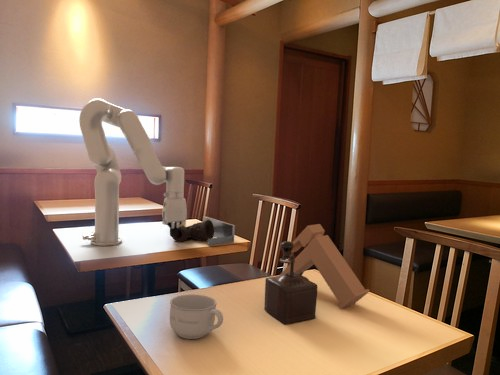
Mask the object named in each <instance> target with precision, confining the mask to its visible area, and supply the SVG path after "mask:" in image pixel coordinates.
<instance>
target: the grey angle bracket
mask: <svg viewBox="0 0 500 375" xmlns="http://www.w3.org/2000/svg"><path fill="white" fill-rule="evenodd" d="M206 220H210V221H211V222H212V223H213V227H214V236H213V238H210V239H208V241H207V246H208V247H212V246H221V245H226V244H234V243H235V232H236V231H235V229H236V225H235V224H232V223H228V222H225V221H221V220H218V219H216V218H212V217H209V216H205V215H204V216H202V222H204V221H206Z"/></svg>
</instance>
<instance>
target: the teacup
mask: <svg viewBox="0 0 500 375" xmlns="http://www.w3.org/2000/svg"><path fill="white" fill-rule="evenodd" d="M169 304H170V307H169V308H170V309H169V323H170V324H169V325H170V328H171V329H172V331H173V332H174V333H176V334H177V336H179V337H180V338H183V339H186V340H188V339H189V340H195V339H201V338H203V337H205V336H206V335H207V334H209V333H212V331H213V330H216V329H218V328H220V327H221V326H222V324H223V323H224V316H223V312H222V311H221V310H220V309H216V308H217V300H215V298H213V297H211V296H207V295H205V294H195V293H194V294H192V293H191V294H182V295H177V296H174V297H173V298H171V299H170V302H169ZM215 318H216V319H217V322H216V323H215Z"/></svg>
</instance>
